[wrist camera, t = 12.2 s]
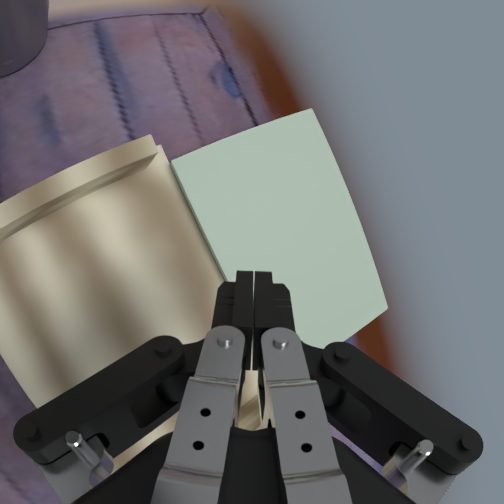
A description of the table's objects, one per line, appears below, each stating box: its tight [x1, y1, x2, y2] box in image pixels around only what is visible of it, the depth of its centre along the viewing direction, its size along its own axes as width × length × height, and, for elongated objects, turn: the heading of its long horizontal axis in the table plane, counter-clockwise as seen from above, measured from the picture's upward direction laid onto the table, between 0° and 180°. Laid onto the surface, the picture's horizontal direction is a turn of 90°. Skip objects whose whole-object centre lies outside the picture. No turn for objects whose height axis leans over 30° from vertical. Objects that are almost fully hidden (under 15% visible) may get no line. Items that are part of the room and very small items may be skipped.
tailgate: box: [170, 109, 388, 349], centre depth 29 cm, size 2×22×14 cm
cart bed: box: [0, 134, 261, 475], centre depth 22 cm, size 20×26×7 cm
